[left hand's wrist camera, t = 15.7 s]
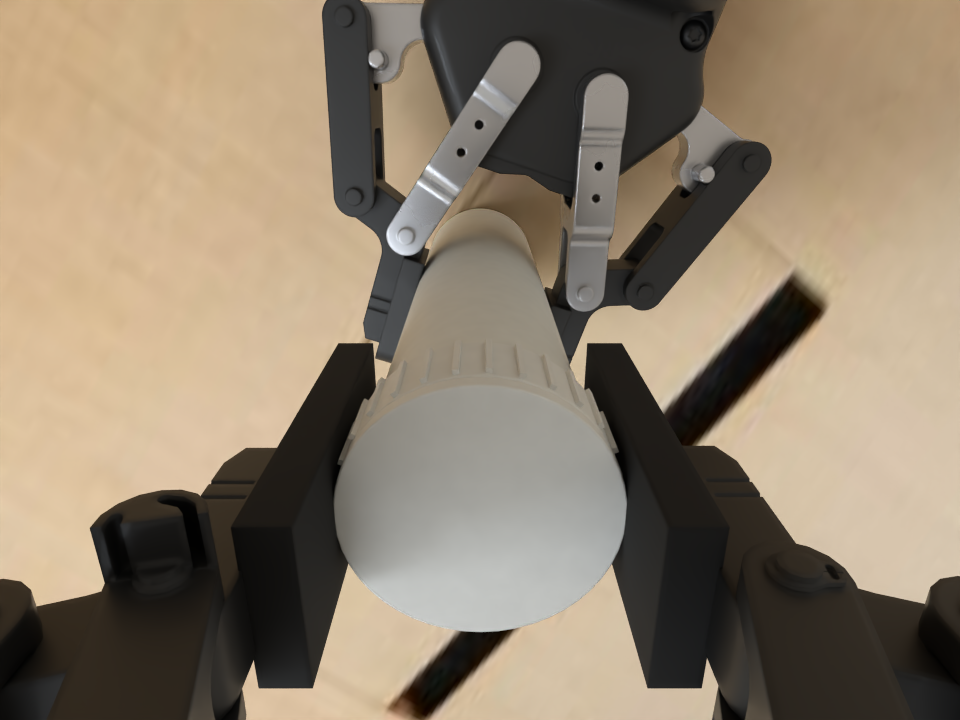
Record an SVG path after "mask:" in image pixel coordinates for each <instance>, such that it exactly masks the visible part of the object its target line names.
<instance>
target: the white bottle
mask: <svg viewBox="0 0 960 720" xmlns="http://www.w3.org/2000/svg"><path fill="white" fill-rule="evenodd" d="M485 339H492V343H499V344H505V345H510V346H515V344H516V343H518V344H521V345H522V349H525V350H528V351H531V352H534V353H536V354H538V355H540V356H543V354H544V353H545V354H547V355H549V357H550V360H551V361H552V362H553V363H555V364H556V365H558V366H559V367H561V368H562V369H564V370H565V371H567V370H568V369H570V370H571V368H570V365H569V362H568V359H567V356H566V353H565V350H564V347H563V344H562V341H561V338H560V335H559V332H558V329H557V326H556V324H555V321H554V318H553V315H552V312H551V309H550V306H549V303H548V300H547V297H546V294H545V291H544V288H543V285H542V282H541V280H540V277H539V274H538V271H537V268H536V265H535V262H534V259H533V256H532V253H531V250H530V247H529V244H528V242H527V239H526V237H525V235H524V233H523V231H522V230H521V229H520V227H519V226H518V225H517V224H516V223H515V222H514V221H513V220H512V219H510V218H509V217H508V216H506V215H504V214H502V213H500V212H497V211H494V210H490V209H470V210H466V211H463V212H461V213H458V214H456V215H455V216H453V217H451V218H450V219H449V220H448V221H446V222H445V223H444V224H443V225H442V226H441V228H440V229H439V231H438V232H437V234H436V236H435V238H434V240H433V243H432V246H431V249H430V251H429V254H428V257H427V260H426V264H425V267H424V270H423V273H422V276H421V279H420V282H419V284H418V287H417V290H416V293H415V296H414V299H413V301H412V304H411V307H410V310H409V313H408V316H407V319H406V322H405V325H404V328H403V331H402V334H401V337H400V340H399V343H398V346H397V349H396V351H395V354H394V357H393V360H392V363H391V366H390V369H389V372H388V375H387V377H389V376H390V375H391V374H392V373H393V372H394V371H396V370H397V369H398V367H399V363H400V362H401V361H403V360H405V361H406V362H409V361H410V360H412V359H414V358H416V357H418V356H420V355H423V354H425V350H426V349H427V348H430V347H431V348H432V350H436V349H439V348H442V347H445V346H451V345H455V341H458V340H461V343H475V342H485ZM571 371H572V370H571Z"/></svg>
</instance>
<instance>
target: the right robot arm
mask: <svg viewBox="0 0 960 720" xmlns="http://www.w3.org/2000/svg"><path fill="white" fill-rule="evenodd" d="M726 1H727V0H425V1H424V3H423V4H406V3H365V2H362V1H361V0H327V1H326V2H325V4H324V7H323V11H322V21H323V36H324V52H325V67H326V82H327V98H328V113H329V128H330V143H331V159H332V174H333V189H334V200H335V203H336V205H337V207H338V208H339V210H340V211H341V212H342V213H344V214H345V215H347V216H350V217H356V218H357V219H358V220H360V221H361V222H362V223H364V224H365V225H367V226H368V227H369V228H371V229H372V230H373V231H374V232H375V233H376V234H377V236H378V237H379V239H380V242H381V245H382V255H381V259H380V263H379V267H378V270H377V274H376V278H375V281H374V285H373V289H372V292H371V296H370V300H369V303H368V307H367V311H366V315H365V318H364V322H363V325H364V332H365V338H367V339H370V340H373V341H377V342H379V346H378V349H377V353H376V357H375V358H376V359H379V360H382V361H386V362H389V363H392V360H393V357H394V354H395V351H396V349H397V346H398V343H399V340H400V337H401V334H402V331H403V328H404V325H405V322H406V319H407V316H408V313H409V310H410V307H411V304H412V301H413V299H414V296H415V293H416V290H417V287H418V284H419V282H420V279H421V276H422V273H423V270H424V267H425V264H426V260H427V257H428V254H429V249H426V248H425V244H426V241H427V240H428V238H429V237H430V235H431V234H432V232H433V231H434V229H435V228H436V226H437V225H438V223H439V222H440V220H441V219H442V217H443V216H444V214H445V213H446V211H447V210H448V208H449V207H450V206H451V204H452V203H453V201H454V200H455V199H456V198H457V196H458V195H459V193H460V192H461V190H462V189H463V187H464V186H465V184H466V183H467V181H468V180H469V178H470V177H471V175H472V174H473V172H474V171H475V169H476V168H477V166H479V167H482V168H485V169H488V170H491V171H494V172H497V173H500V174H518V175H527V176H529V177H531V178H532V179H534V180H535V181H537V182H538V183H540V184H541V185H543V186H544V187H545V188H547V189H548V190H550V191H553V192H556V193H559V194H561V202H560V225H561V229H560V245H559V260H558V276H557V278H556V281H555V284H554V286H553V289H550V288H547V287H545V290H544V291H545V294H546V297H547V300H548V303H549V306H550V309H551V312H552V315H553V318H554V321H555V324H556V326H557V329H558V332H559V335H560V338H561V341H562V344H563V347H564V350H565V353H566V356H567V359H568V362H569V365H570V363H571V360H572V357H573V356H574V353H575V351H576V348H577V346H578V343H579V341H580V338H581V336H582V333H583V331H584V328H585V326H586V323H587V321H588V319H589V318H590V316H591V315H592V314H593V313H594V312H595V311H597V310H598V309H600V308H603V307H606V306H621V305H631V306H632V307H633V308H635V309H637V310H649V309H652V308H654V307H655V306H656V305H658V304H659V302H660V301H661V300H662V299H663V298H664V296H665V295H666V294H667V293H668V292H669V290H670V289H671V288H672V287H673V286H674V285H675V283H676V282H677V281H678V280H679V279H680V277H681V276H682V275H683V274H684V273H685V271H686V270H687V269H688V268H689V267H690V265H691V264H692V263H693V262H694V261H695V259H696V258H697V257H698V256H699V255H700V253H701V252H702V251H703V250H704V249H705V247H706V246H707V245H708V244H709V243H710V241H711V240H712V239H713V238H714V237H715V235H716V234H717V233H718V232H719V231H720V229H721V228H722V227H723V226H724V225H725V223H726V222H727V221H728V220H729V219H730V217H731V216H732V215H733V214H734V213H735V211H736V210H737V209H738V208H739V207H740V205H741V204H742V203H743V202H744V201H745V199H746V198H747V197H748V196H749V195H750V193H751V192H752V191H753V190H754V189H755V187H756V186H757V185H758V184H759V183H760V181H761V180H762V179H763V178H764V177H765V175H766V174H767V173H768V171H769V169H770V166H771V154H770V151H769V149H768V148H767V147H766V146H765V145H764V144H762V143H759V142H754V141H751V140H747V139H742V138H740V137H739V136H738V135H736V134H735V133H734V132H733V131H732V130H730V129H729V128H728V127H727V126H726V125H724V124H723V123H722V122H721V121H720V120H718V119H717V118H716V117H715V116H713V115H712V114H711V113H710V112H709V111H707V110H706V109H705V108H704V107H703V106H701V105H702V102H703V97H704V84H703V63H704V57H705V53H706V49H707V46H708V43H709V41H710V39H711V36H712V34H713V32H714V30H715V28H716V25H717V23H718V20H719V18H720V16H721V13H722V11H723V8H724V6H725V3H726ZM419 43H424V44H425V47H426V50H427V53H428V56H429V60H430V63H431V66H432V69H433V72H434V75H435V78H436V81H437V85H438V88H439V91H440V94H441V97H442V100H443V103H444V106H445V109H446V113H447V116H448V119H449V122H450V125H451V129H450V130H449V132H448V133H447V135H446V136H445V138H444V140H443V141H442V143H441V144H440V146H439V147H438V149H437V151H436V152H435V154H434V155H433V157H432V158H431V160H430V161H429V163H428V165H427V166H426V168H425V169H424V171H423V173H422V174H421V176H420V178H419V179H418V181H417V182H416V184H415V185H414V187H413V189H412V190H411V192H410V193H409V195H408V196H407V198H406V197H405V196H403V195H402V194H401V193H399V192H398V191H397V190H395V189H394V188H393V187H392V186H390V185H389V184H388V183H386V182H385V164H384V136H383V108H382V84H388V83H392V82H394V81H395V80H397V79H398V78H399V77H400V75H401V73H402V71H403V68H404V60H405V56H406V54H407V52H408V51H409V50H410V49H411V47H413V46H414V45H416V44H419ZM676 135H677V137H678V139H679V143H680V150H679V154H678V156H677V158H676V160H675V162H674V164H673V166H672V177H673V180H674V182H675V183H676V184H677V186H676V187H675V189H674V190H673V191H672V192H671V194H670V195H669V196H668V197H667V199H666V200H665V201H664V202H663V204H662V205H661V206H660V208H659V209H658V210H657V211H656V213H655V214H654V215H653V216H652V218H651V219H650V220H649V221H648V223H647V224H646V225H645V227H644V228H643V229H642V230H641V232H640V233H639V234H638V235H637V237H636V238H635V239H634V241H633V242H632V243H631V244H630V246H629V247H628V248H627V249H626V251H625V252H624V253H623V254H622V256H621V257H620V258H619V259H613V260H607V258H608V248H609V242H610V239H611V238H612V235H613V230H614V221H615V211H616V201H617V190H618V180H619V176H620V175H622V174H623V173H624V172H626V171H627V170H629V169H630V168H631V167H633V166H634V165H636V164H637V163H639V162H640V161H641V160H643V159H644V158H646V157H647V156H648V155H650V154H651V153H653V152H654V151H655V150H657V149H658V148H660V147H661V146H662V145H664V144H665V143H667V142H668V141H669V140H671V139H672V138H674V137H675V136H676Z"/></svg>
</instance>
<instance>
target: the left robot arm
mask: <svg viewBox="0 0 960 720" xmlns="http://www.w3.org/2000/svg"><path fill="white" fill-rule="evenodd" d="M375 388H376V381H375V366H374V351H373V343H338V345H337V347H336V349H335V350H334V352H333V354H332V355H331V357H330V359H329V360H328V362H327V364H326V366H325V367H324V369H323V371H322V372H321V374H320V376H319V378H318V379H317V381H316V383H315V384H314V386H313V388H312V389H311V391H310V393H309V395H308V396H307V398H306V400H305V401H304V403H303V405H302V406H301V408H300V410H299V412H298V413H297V415H296V417H295V418H294V420H293V422H292V423H291V425H290V427H289V429H288V430H287V432H286V434H285V435H284V437H283V439H282V441H281V442H280V444H279V446H278V447H277V448H245V449H244V450H243V451H241V452H240V453H238V454H237V455H235V456H234V457H232V458H231V459H229V460H228V461H226V462H225V463H224V464H223V465H222V467H221V468H220V469H219V471H218V472H217V474H216V475H215V476H214V478H213V479H212V481H211V484H209V485H208V486H207V488H206V489H205V490H204V492H203V493H202V495H201V496H200V495H198V494H197V493H193V492H188V491H184V490H161V491H156V492H151V493H147V494H142V495H138V496H136V497H134V498H131V499H129V500H126V501H124V502H121V503H119V504H117V505H115V506H114V507H112V508H111V509H109V510H108V511H106V512H105V513H103V514H102V515H100V517H99V518H98V519H97V520H96V521H95V522H94V524H93V525H92V526H91V527H90V531H91V534H92V538H93V541H94V545H95V549H96V552H97V556H98V560H99V563H100V567H101V571H102V574H103V578H104V582H105V584H104V587H103V589H102V591H101V592H98V593H95V594H91V595H88V596H83V597H79V598H74V599H70V600H65V601H60V602H56V603H51V604H46V605H42V606H37V607H36V604H35V601H34V598H33V595H32V592H31V590H30V589H29V588H28V587H27V586H26V585H24V584H23V583H22V582H20V581H14V580H8V579H0V720H246V709H245V702H244V696H243V691H242V687H243V685H244V682H245V680H246V677H247V675H248V672H249V670H250V668H251V665H252V663H253V660H254V664H255V669H256V675H257V681H258V687H259V688H313V685H314V682H315V678H316V675H317V671H318V668H319V664H320V661H321V657H322V654H323V650H324V647H325V643H326V640H327V636H328V633H329V629H330V626H331V622H332V619H333V615H334V612H335V608H336V605H337V601H338V598H339V594H340V591H341V587H342V584H343V580H344V577H345V573H346V570H347V566H348V561H347V559H346V557H345V555H344V554H343V552H342V549H341V546H340V543H339V541H338V538H337V534H336V525H335V516H334V505H333V498H334V491H335V485H336V481H337V478H338V474H339V471H340V468H341V465H338V464H337V463H338V460H339V457H340V455H341V452H342V450H343V447H344V445H345V442H346V440H347V437H348V434H349V432H350V429H351V427H352V424H353V422H355V419H356V417H357V414H358V412H359V409H360V406H361V404H362V402H363V400H364V399H367V400H369V399H370V398H371V396H372V395H373V393H374V391H375ZM588 388H589V389H590V391H591V392H592V394H593V397H594V399H595V402H596V405H597V407H598V410H599V412H601V411H603V413H604V415H605V418H606V420H607V423H608V425H609V428H610V430H611V433H612V435H613V438H614V440H615V443H616V445H617V448H618V450H619V452H618V453H615V456H616V458H617V461H618V464H619V466H620V469H621V472H622V476H623V479H624V483H625V487H626V494H627V509H626V520H625V529H624V536H623V539H622V542H621V545H620V548H619V551H618V552H617V554H616V556H615V558H614V560H613V562H612V565H613V569H614V572H615V576H616V579H617V583H618V586H619V590H620V593H621V597H622V600H623V604H624V607H625V611H626V614H627V618H628V621H629V625H630V628H631V632H632V635H633V639H634V642H635V646H636V649H637V653H638V656H639V660H640V663H641V667H642V670H643V674H644V677H645V681H646V684H647V688H702V683H703V677H704V672H705V666H706V660H707V658H708V661H709V663H710V666H711V668H712V671H713V673H714V676H715V678H716V680H717V683H718V685H719V686H718V691H717V696H716V702H715V707H714V712H713V718H712V720H960V576H955V577H949V578H943V579H940V580H938V581H937V582H936V583H935V584H934V585H932V586H931V587H930V590H929V593H928V596H927V600H926V603H925V604H922V603H918V602H913V601H908V600H904V599H899V598H894V597H890V596H885V595H880V594H876V593H872V592H869V591H865V590H861V589H858V588H857V586H856V583H855V582H854V580H853V579H852V578H851V576H850V575H849V573H848V572H847V571H846V569H845V568H844V567H842V566H841V565H840V564H838V563H837V562H836V561H834V560H833V559H832V558H830V557H829V556H827V555H825V554H823V553H821V552H819V551H816V550H814V549H812V548H810V547H807V546H803V545H799V544H796V543H795V542H794V540H793V539H792V537H791V536H790V535H789V533H788V532H787V530H786V529H785V528H784V526H783V525H782V523H781V522H780V521H779V519H778V518H777V516H776V515H775V514H774V512H773V511H772V509H771V508H770V507H769V505H768V504H767V502H766V501H765V500H764V498H763V497H760V493H759V491H758V490H757V488H756V487H755V486H754V484H753V483H752V482H750V481H749V477H748V476H747V475H746V473H745V472H744V470H743V469H742V468H741V466H740V465H739V463H738V462H737V461H736V460H735V459H733V458H732V457H730V456H729V455H727V454H726V453H724V452H723V451H721V450H720V449H718V448H717V447H715V446H682V445H681V443H680V442H679V440H678V438H677V436H676V435H675V433H674V431H673V430H672V428H671V426H670V424H669V423H668V421H667V419H666V418H665V416H664V414H663V413H662V411H661V409H660V407H659V406H658V404H657V402H656V401H655V399H654V397H653V396H652V394H651V392H650V390H649V389H648V387H647V385H646V384H645V382H644V380H643V379H642V377H641V375H640V373H639V372H638V370H637V368H636V367H635V365H634V363H633V362H632V360H631V358H630V356H629V355H628V353H627V351H626V350H625V348H624V346H623V345H622V343H587V357H586V372H585V387H584V390H587V389H588Z"/></svg>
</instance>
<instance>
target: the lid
mask: <svg viewBox="0 0 960 720" xmlns="http://www.w3.org/2000/svg"><path fill="white" fill-rule="evenodd" d="M618 452H619V450H618V448H617V445H616V443H615V440H614V438H613V435H612V433H611V430H610V428H609V425H608V423H607V420H606V418H605V415H604V413H603V411H601V412H599V410H598V407H597V405H596V402H595V399H594V397H593V394H592V392H591V391H590V389H589V388H588V389H587V390H584V389H583V387H582V386H581V385H580V384H579V383H578V382H577V381H576V379H575V376H574V373H573V372H572V371H571V370H570V369H568V370H567V371H565V370H564V369H562V368H561V367H559V366H558V365H556V364H555V363H553V362H552V361H551V360H550V357H549V355H547V354H545V353H544V354H543V356H540V355H538V354H536V353H534V352H531V351H528V350H525V349H522V345H521V344H518V343H516V344H515V346H510V345H505V344H499V343H492V339H485V342H475V343H461V340H458V341H455V345H451V346H445V347H442V348H439V349H436V350H432V348H431V347H430V348H427V349H426V350H425V354H423V355H420V356H418V357H416V358H414V359H412V360H410V361H409V362H406V361H405V360H403V361H401V362H400V363H399V367H398V369H397V370H396V371H394V372H393V373H392V374H391V375H390V376H389V377H387V378H386V379H383V378H382V377H381V378H380V379H379V380H378V383H377V385H376V388H375V391H374V393H373V395H372V396H371V398H370V399H369V400H367V399H364V400H363V402H362V404H361V406H360V409H359V412H358V414H357V417H356V419H355V422H353V424H352V427H351V429H350V432H349V434H348V437H347V440H346V442H345V445H344V447H343V450H342V452H341V455H340V457H339V460H338V463H337V464H338V465H341V468H340V471H339V474H338V478H337V481H336V485H335V491H334V498H333V505H334V516H335V525H336V534H337V538H338V541H339V543H340V546H341V549H342V552H343V554H344V555H345V557H346V559H347V561H348V563H349V565H350V566H351V568H352V569H353V571H354V572H355V573H356V575H357V576H358V578H359V579H360V580H361V581H362V582H363V583H364V584H365V585H366V586H367V587H368V589H369V590H370V591H372V592H373V593H374V594H375V595H376V596H378V597H379V598H380V599H381V600H382V601H384V602H385V603H387V604H388V605H390V606H391V607H393V608H394V609H396V610H397V611H399V612H401V613H403V614H405V615H407V616H409V617H411V618H414V619H416V620H419V621H422V622H424V623H427V624H430V625H434V626H438V627H442V628H446V629H453V630H459V631H472V632H488V631H501V630H508V629H514V628H519V627H522V626H526V625H530V624H534V623H536V622H539V621H541V620H544V619H547V618H549V617H551V616H553V615H555V614H557V613H559V612H561V611H563V610H565V609H566V608H568V607H569V606H571V605H572V604H574V603H575V602H577V601H578V600H580V599H581V598H582V597H583V596H584V595H585V594H587V593H588V592H589V591H590V590H591V589H592V588H593V587H594V586H595V585H596V584H597V583H598V582H599V580H600V579H601V578H602V577H603V576H604V574H605V573H606V571H607V570H608V569H609V567H610V566H611V564H612V562H613V560H614V558H615V556H616V554H617V552H618V551H619V548H620V545H621V542H622V539H623V536H624V529H625V520H626V509H627V494H626V487H625V483H624V479H623V476H622V472H621V469H620V466H619V464H618V461H617V458H616V456H615V453H618Z"/></svg>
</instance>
